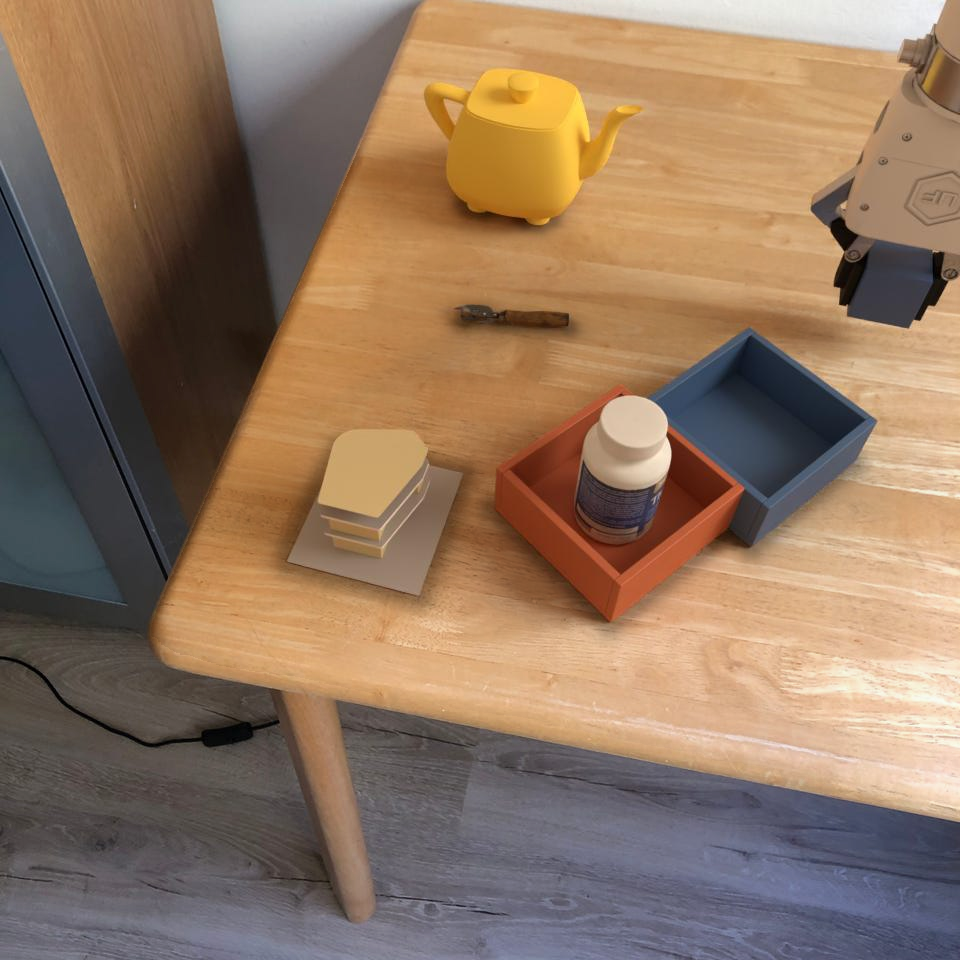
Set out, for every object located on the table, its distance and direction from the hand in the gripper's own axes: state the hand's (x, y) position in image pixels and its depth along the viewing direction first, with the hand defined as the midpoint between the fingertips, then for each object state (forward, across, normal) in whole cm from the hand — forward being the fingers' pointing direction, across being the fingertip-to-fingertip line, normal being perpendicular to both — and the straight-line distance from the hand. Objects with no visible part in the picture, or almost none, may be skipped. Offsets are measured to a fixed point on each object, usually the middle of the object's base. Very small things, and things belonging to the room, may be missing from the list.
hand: (880, 298), depth 72 cm
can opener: (+4, -26, -6) cm, 28 cm away
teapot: (+4, -30, +9) cm, 31 cm away
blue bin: (+4, -8, -14) cm, 17 cm away
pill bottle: (+4, -16, -22) cm, 27 cm away
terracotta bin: (+4, -16, -22) cm, 27 cm away
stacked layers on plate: (+4, -30, -27) cm, 41 cm away
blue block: (0, 0, 0) cm, 0 cm away
